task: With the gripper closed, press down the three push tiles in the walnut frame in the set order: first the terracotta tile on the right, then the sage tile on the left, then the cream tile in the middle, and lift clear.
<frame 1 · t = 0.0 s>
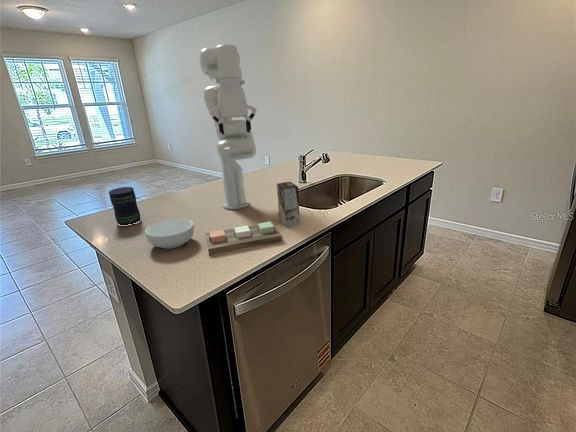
hand: (235, 133, 117), 37 cm above the counter, tool pointing down, fingers open, 9 cm apart
storage jar: (129, 222, 138), on the counter
cereal bowl: (173, 244, 116), on the counter
terracotta tile: (217, 237, 112), point 3 cm above the counter, slide at 0.0 cm
coffee box: (289, 222, 129), on the counter
sage tile: (266, 228, 117), point 3 cm above the counter, slide at 0.0 cm
tile frame: (243, 240, 116), on the counter
cream tile: (242, 232, 114), point 3 cm above the counter, slide at 0.0 cm
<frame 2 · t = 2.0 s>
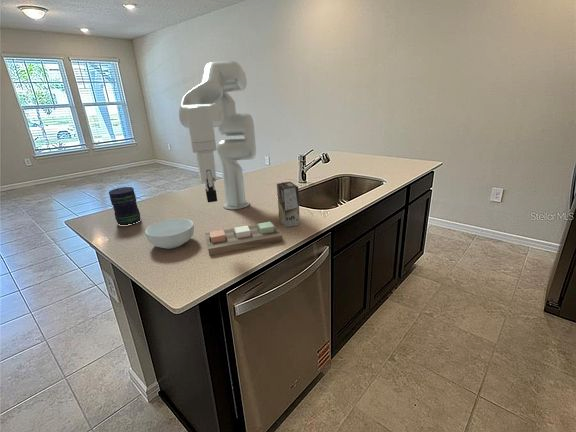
hand: (212, 200, 107), 17 cm above the counter, tool pointing down, fingers closed
nothing on the counter moved.
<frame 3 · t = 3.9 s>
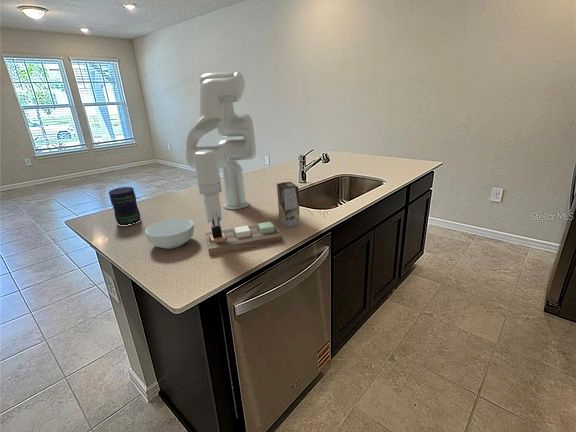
hand: (217, 236, 112), 3 cm above the counter, tool pointing down, fingers closed
terracotta tile: (218, 240, 112), point 2 cm above the counter, slide at 1.2 cm, touching gripper
everything else where it was.
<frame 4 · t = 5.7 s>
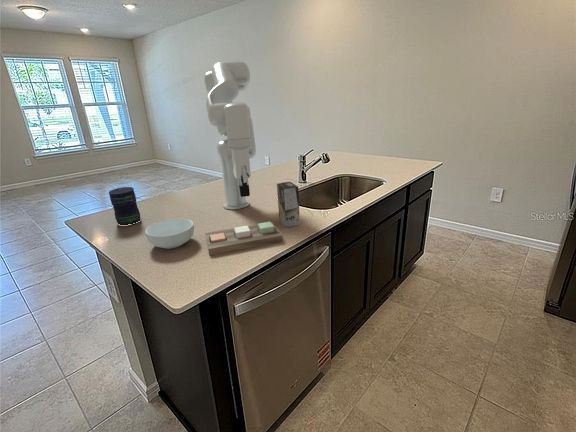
hand: (245, 195, 110), 17 cm above the counter, tool pointing down, fingers closed
terracotta tile: (218, 240, 112), point 2 cm above the counter, slide at 1.2 cm
everything else where it was.
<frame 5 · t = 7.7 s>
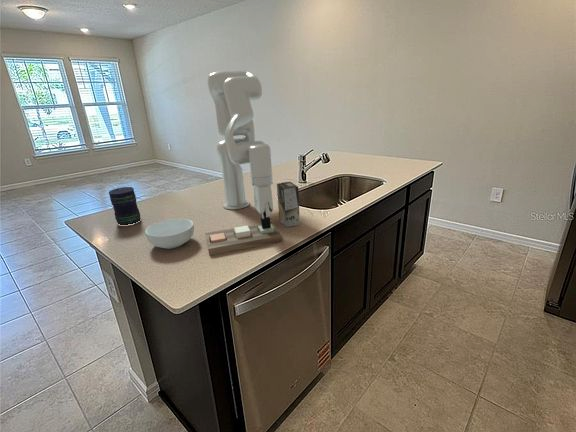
hand: (266, 227, 116), 4 cm above the counter, tool pointing down, fingers closed
sage tile: (266, 231, 117), point 2 cm above the counter, slide at 1.0 cm, touching gripper
everything else where it was.
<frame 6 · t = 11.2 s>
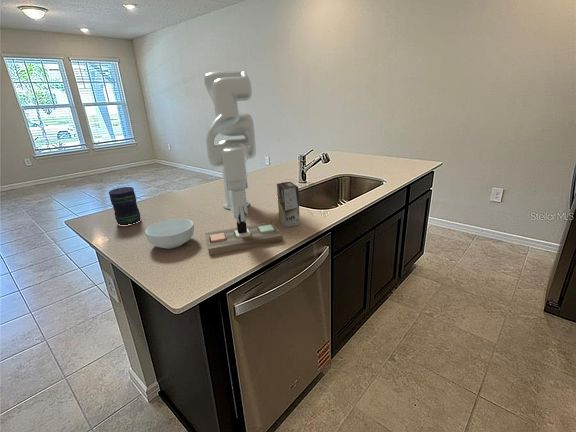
hand: (242, 232, 114), 3 cm above the counter, tool pointing down, fingers closed
sage tile: (266, 231, 117), point 2 cm above the counter, slide at 1.2 cm
cream tile: (242, 235, 115), point 2 cm above the counter, slide at 1.2 cm, touching gripper
everything else where it was.
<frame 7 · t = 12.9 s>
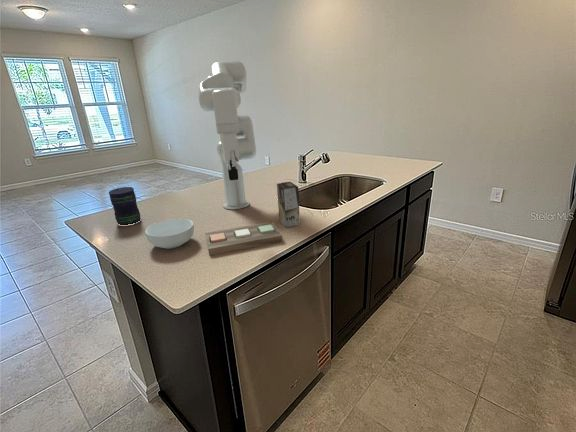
hand: (233, 179, 114), 22 cm above the counter, tool pointing down, fingers closed
cream tile: (242, 235, 115), point 2 cm above the counter, slide at 1.3 cm
everything else where it was.
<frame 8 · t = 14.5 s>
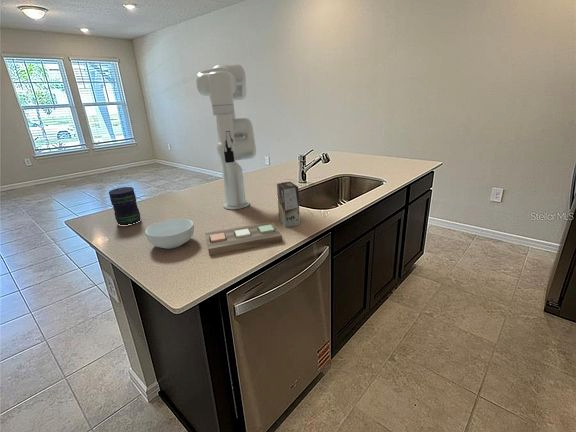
hand: (229, 161, 116), 27 cm above the counter, tool pointing down, fingers closed
nothing on the counter moved.
at the end: terracotta tile slide at 1.2 cm; sage tile slide at 1.2 cm; cream tile slide at 1.3 cm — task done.
